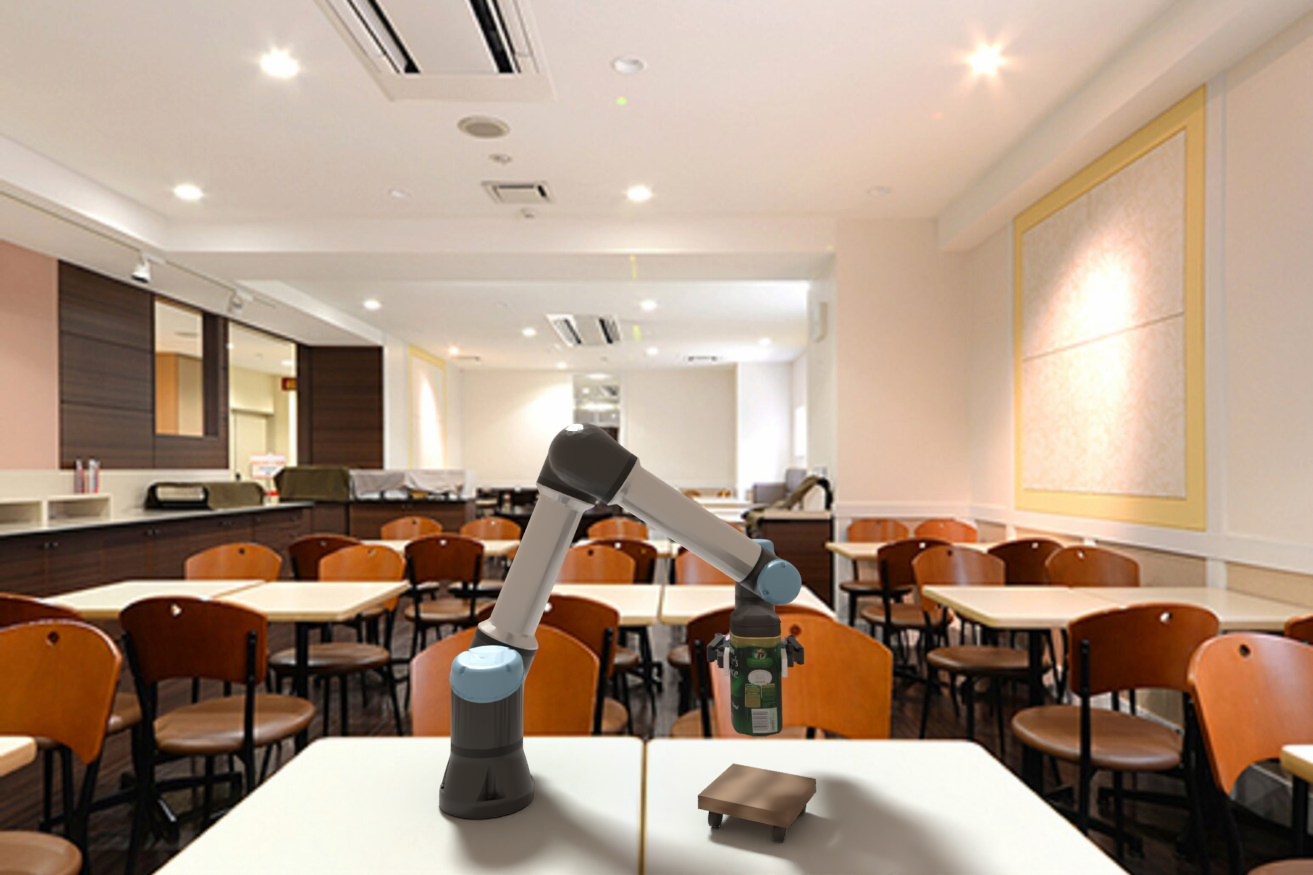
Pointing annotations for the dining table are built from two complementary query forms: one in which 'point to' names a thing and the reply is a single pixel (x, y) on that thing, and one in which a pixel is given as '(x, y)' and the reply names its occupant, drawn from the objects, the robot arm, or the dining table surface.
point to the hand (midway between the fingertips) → (755, 667)
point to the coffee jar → (755, 671)
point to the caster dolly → (757, 797)
